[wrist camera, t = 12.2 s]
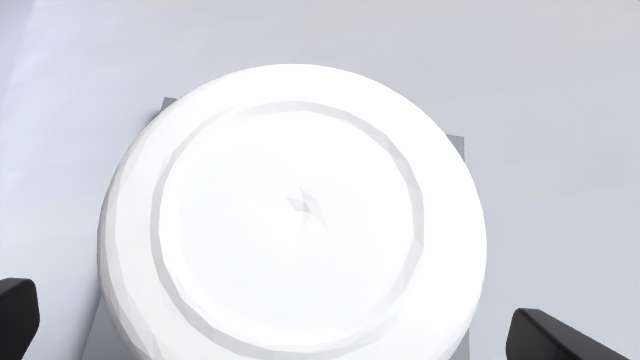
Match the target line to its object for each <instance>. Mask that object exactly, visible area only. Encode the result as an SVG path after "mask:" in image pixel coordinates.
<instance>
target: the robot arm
mask: <svg viewBox="0 0 640 360" xmlns="http://www.w3.org/2000/svg"><path fill="white" fill-rule="evenodd" d="M39 323H40V314H39V307H38V299H37V291H36V286H35V283H34V282H33V281H32V280H31V279H24V278H6V279H3V280H0V360H21V359H22V357H23V356H24V354H25V352H26V350H27V348H28V347H29V345H30V343H31V341H32V339H33V338H34V336H35V334H36V332H37V330H38V327H39ZM506 356H507V360H629V359H628V358H626V357H624V356H622V355H620V354H619V353H617V352H615V351H613V350H611V349H610V348H608V347H606V346H604V345H602V344H601V343H599V342H597V341H595V340H593V339H592V338H590V337H588V336H586V335H584V334H583V333H581V332H579V331H577V330H575V329H574V328H572V327H570V326H568V325H566V324H565V323H563V322H561V321H559V320H557V319H556V318H554V317H552V316H550V315H548V314H546V313H545V312H543V311H541V310H539V309H529V308H518V309H517V310H515V312H514V314H513V317H512V321H511V325H510V329H509V333H508V337H507V341H506Z"/></svg>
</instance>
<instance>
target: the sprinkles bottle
mask: <svg viewBox="0 0 640 360" xmlns="http://www.w3.org/2000/svg"><path fill="white" fill-rule="evenodd" d="M485 267H486V233H485V225H484V217H483V211H482V207H481V204H480V201H479V197H478V194H477V191H476V188H475V185H474V182H473V180H472V178H471V175H470V173H469V171H468V169H467V167H466V165H465V163H464V162H463V160H462V158H461V156H460V155H459V153H458V152H457V150H456V149H455V147H454V146H453V145H452V143H451V142H450V141H449V139H448V138H447V137H446V135H445V134H444V133H443V132H442V130H441V129H440V128H439V127H438V126H437V125H436V124H435V123H434V122H433V121H432V120H431V119H430V118H429V117H428V116H427V115H426V114H425V113H423V112H422V111H421V110H420V109H419V108H418V107H416V106H415V105H414V104H412V103H411V102H410V101H408V100H407V99H406V98H404V97H402V96H401V95H399V94H397V93H396V92H394V91H393V90H391V89H389V88H387V87H385V86H384V85H382V84H380V83H378V82H376V81H373V80H371V79H368V78H366V77H363V76H361V75H358V74H355V73H352V72H348V71H343V70H339V69H335V68H330V67H325V66H318V65H307V64H277V65H268V66H261V67H255V68H249V69H244V70H240V71H236V72H233V73H229V74H226V75H224V76H222V77H219V78H217V79H214V80H212V81H210V82H207V83H205V84H203V85H201V86H199V87H197V88H196V89H194V90H192V91H190V92H189V93H187V94H185V95H184V96H182V97H180V98H179V99H177V100H176V101H175V102H174V103H172V104H171V105H170V106H168V107H167V108H166V109H165V110H163V111H162V112H161V113H160V114H159V115H158V116H156V117H155V118H154V119H153V120H152V121H151V122H150V123H149V124H148V125H147V126H146V127H145V128H144V130H143V131H142V132H141V133H140V134H139V136H138V137H137V138H136V139H135V141H134V142H133V143H132V144H131V146H130V147H129V148H128V150H127V152H126V153H125V155H124V157H123V158H122V160H121V162H120V163H119V165H118V167H117V169H116V171H115V173H114V175H113V178H112V180H111V182H110V185H109V187H108V190H107V192H106V195H105V198H104V201H103V205H102V208H101V214H100V219H99V225H98V231H97V271H98V280H99V287H100V290H101V293H102V296H103V300H104V304H105V307H106V310H107V313H108V316H109V318H110V321H111V323H112V325H113V327H114V329H115V331H116V333H117V335H118V337H119V339H120V341H121V343H122V344H123V346H124V347H125V349H126V350H127V352H128V353H129V355H130V356H131V357H132V359H133V360H449V359H450V358H451V356H452V355H453V353H454V352H455V351H456V349H457V347H458V346H459V344H460V342H461V341H462V339H463V337H464V335H465V334H466V332H467V330H468V328H469V325H470V323H471V320H472V318H473V316H474V313H475V311H476V308H477V305H478V302H479V299H480V296H481V290H482V287H483V283H484V275H485Z"/></svg>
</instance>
